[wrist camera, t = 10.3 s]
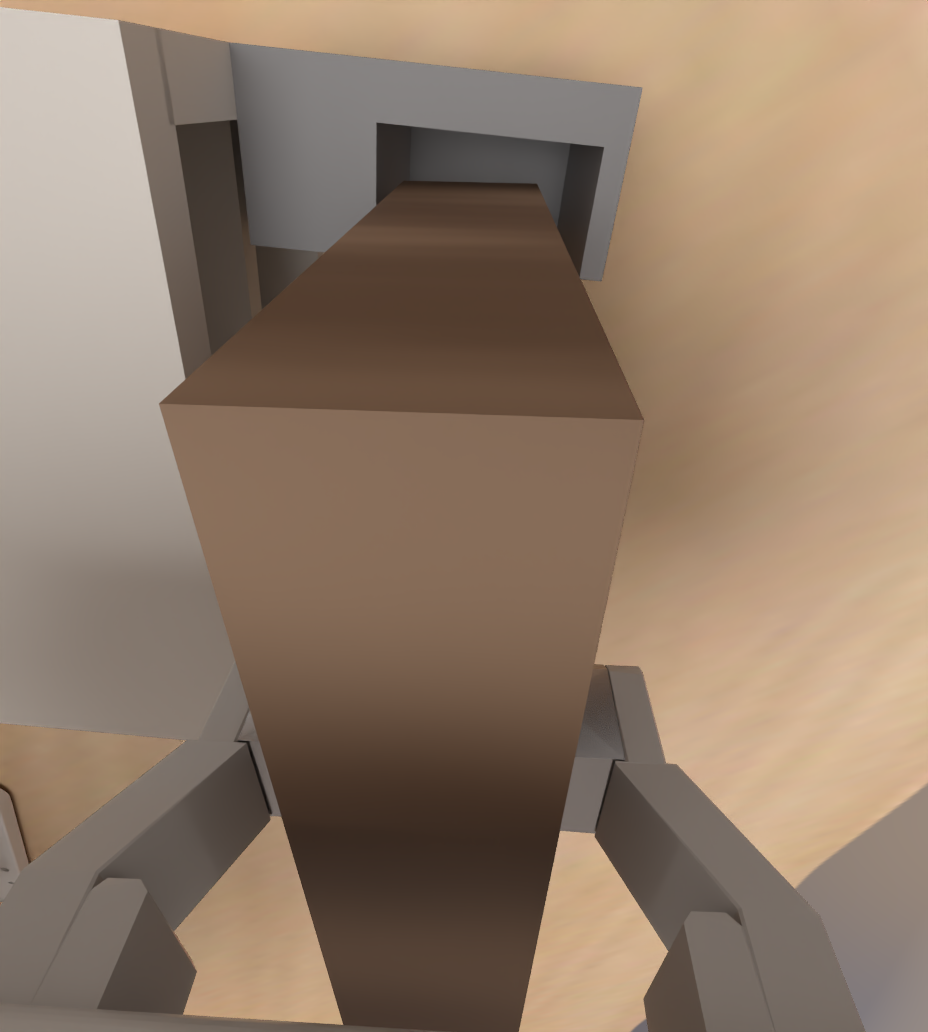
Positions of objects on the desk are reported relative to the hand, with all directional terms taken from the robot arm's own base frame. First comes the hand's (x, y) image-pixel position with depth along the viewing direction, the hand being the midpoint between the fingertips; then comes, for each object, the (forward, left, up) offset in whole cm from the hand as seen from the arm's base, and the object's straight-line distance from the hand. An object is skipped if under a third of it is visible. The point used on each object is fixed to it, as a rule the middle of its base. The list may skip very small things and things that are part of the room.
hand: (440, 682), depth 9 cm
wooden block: (0, 0, -9) cm, 9 cm away
